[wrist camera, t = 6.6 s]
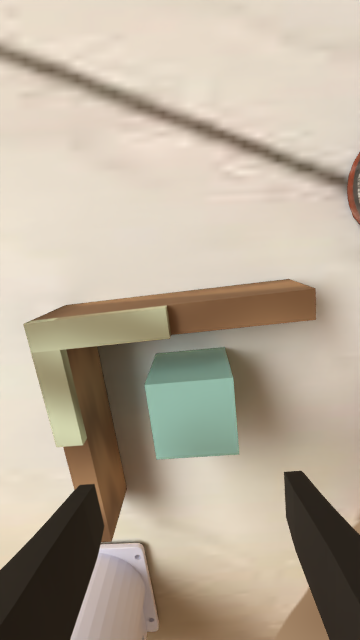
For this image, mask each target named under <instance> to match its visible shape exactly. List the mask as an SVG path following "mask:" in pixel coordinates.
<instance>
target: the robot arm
mask: <svg viewBox="0 0 360 640" xmlns="http://www.w3.org/2000/svg"><path fill="white" fill-rule="evenodd" d="M284 481H285V502H286V518H287V522H288V525H289V529H290V533H291V536H292V540H293V543H294V547H295V550H296V553H297V555H298V558H299V561H300V563H301V566H302V569H303V571H304V574H305V577H306V579H307V582H308V584H309V587H310V590H311V592H312V595H313V597H314V600H315V603H316V605H317V608H318V610H319V613H320V615H321V618H322V621H323V624H324V626H325V629H326V631H327V634H328V637H329V639H330V640H360V535H359V534H358V533H357V532H356V531H355V530H354V529H353V528H352V527H351V526H350V525H349V523H348V522H347V521H346V520H345V519H344V518H343V517H342V516H341V515H340V514H339V513H338V512H337V511H336V510H335V509H334V508H333V506H332V505H331V504H330V503H329V502H328V501H327V500H326V499H325V497H324V496H323V495H322V494H321V493H320V492H319V491H318V489H317V488H316V487H315V486H314V485H313V483H312V482H311V481H310V480H309V479H308V477H307V476H306V475H305V474H304V473H303V472H302V471H292V472H284ZM103 531H104V522H103V517H102V513H101V509H100V505H99V501H98V496H97V492H96V488H95V484H86V485H79V486H78V487H77V488H76V489H75V490H74V492H73V493H72V494H71V495H70V496H69V497H68V498H67V499H66V501H65V502H64V503H63V504H62V505H61V506H60V507H59V508H58V510H57V511H56V512H55V513H54V514H53V515H52V516H51V518H50V519H49V520H48V521H47V522H46V523H45V524H44V525H43V526H42V527H41V529H40V530H39V531H38V532H37V533H36V534H35V535H34V536H33V537H32V538H31V539H30V540H29V541H28V542H27V543H26V545H25V546H24V547H23V548H22V549H21V550H20V551H19V552H18V553H17V554H16V555H15V556H14V557H13V558H12V559H11V560H10V561H9V562H8V563H7V564H6V565H5V566H4V567H3V568H2V569H1V570H0V640H146V637H147V632H156V631H157V630H158V629H159V620H158V615H157V610H156V605H155V600H154V595H153V590H152V585H151V580H150V575H149V570H148V565H147V561H146V556H145V551H144V547H143V545H142V544H140V543H122V544H101V540H102V535H103Z"/></svg>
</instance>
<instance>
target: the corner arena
mask: <svg viewBox="0 0 360 640" xmlns="http://www.w3.org/2000/svg"><path fill="white" fill-rule="evenodd" d="M308 320H316V290H315V288H312V287H310V286H307V285H304V284H301V283H298V282H295V281H292V280H290V279H285V280H277V281H268V282H259V283H251V284H242V285H234V286H225V287H217V288H208V289H200V290H191V291H183V292H174V293H166V294H157V295H149V296H140V297H132V298H123V299H114V300H106V301H97V302H89V303H80V304H72V305H65V306H63V307H60V308H58V309H56V310H54V311H52V312H49V313H47V314H45V315H43V316H40V317H38V318H36V319H34V320H31V321H29V322H27V323H25V324H24V328H25V332H26V336H27V339H28V343H29V347H30V350H31V354H32V358H33V362H34V365H35V369H36V373H37V377H38V380H39V384H40V388H41V391H42V395H43V399H44V403H45V406H46V410H47V414H48V417H49V421H50V425H51V429H52V432H53V436H54V440H55V443H56V447H64V451H65V455H66V459H67V463H68V466H69V470H70V474H71V478H72V482H73V486H74V489H76V488H77V487H78V486H79V485H86V484H95V488H96V492H97V496H98V501H99V505H100V509H101V513H102V517H103V522H104V531H103V535H102V540H101V542H112V538H113V535H114V532H115V528H116V525H117V521H118V518H119V514H120V511H121V507H122V504H123V500H124V497H125V493H126V490H127V488H126V483H125V478H124V473H123V468H122V464H121V459H120V454H119V449H118V444H117V439H116V435H115V430H114V425H113V420H112V415H111V411H110V406H109V401H108V396H107V391H106V387H105V382H104V377H103V372H102V367H101V363H100V358H99V353H98V348H97V346H103V345H113V344H122V343H132V342H142V341H151V340H161V339H170V336H171V335H174V334H183V333H193V332H203V331H212V330H222V329H231V328H241V327H250V326H260V325H269V324H279V323H289V322H298V321H308Z"/></svg>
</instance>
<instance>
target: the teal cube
mask: <svg viewBox="0 0 360 640" xmlns="http://www.w3.org/2000/svg"><path fill="white" fill-rule="evenodd" d="M145 391H146V397H147V404H148V410H149V416H150V422H151V428H152V434H153V440H154V447H155V453H156V459H173V458H189V457H205V456H221V455H237V454H239V445H238V432H237V419H236V407H235V394H234V381H233V375H232V372H231V368H230V365H229V361H228V358H227V354H226V351H225V347H222V348H211V349H201V350H190V351H179V352H168V353H157V354H156V355H155V358H154V361H153V363H152V366H151V369H150V372H149V374H148V377H147V380H146V382H145Z"/></svg>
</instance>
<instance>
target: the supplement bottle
mask: <svg viewBox="0 0 360 640" xmlns="http://www.w3.org/2000/svg"><path fill="white" fill-rule="evenodd" d="M347 194H348V201H349V206H350V209H351V211H352V215H353V217H354V218H355V219H356V220H357V222H358V223H359V224H360V152H359V154H358V156H357V157H356V159H355V161H354V163H353V165H352V168H351V171H350V173H349V177H348V185H347Z"/></svg>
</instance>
